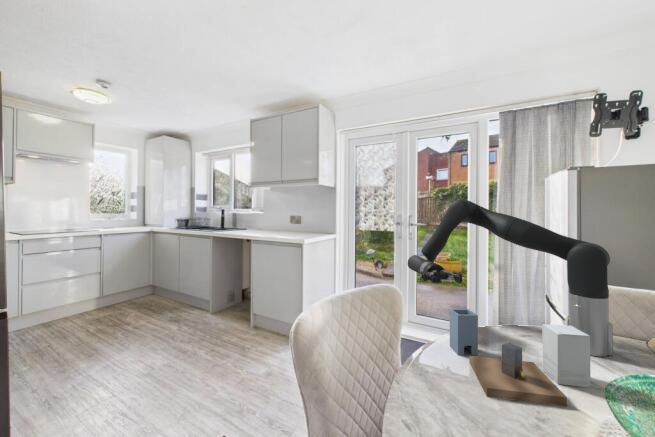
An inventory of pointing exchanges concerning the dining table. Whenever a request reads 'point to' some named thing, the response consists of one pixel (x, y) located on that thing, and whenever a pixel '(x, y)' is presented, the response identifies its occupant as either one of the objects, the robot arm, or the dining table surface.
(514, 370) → the post
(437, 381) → the dining table surface
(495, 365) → the base plate
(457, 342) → the sleeve
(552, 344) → the supplement box
